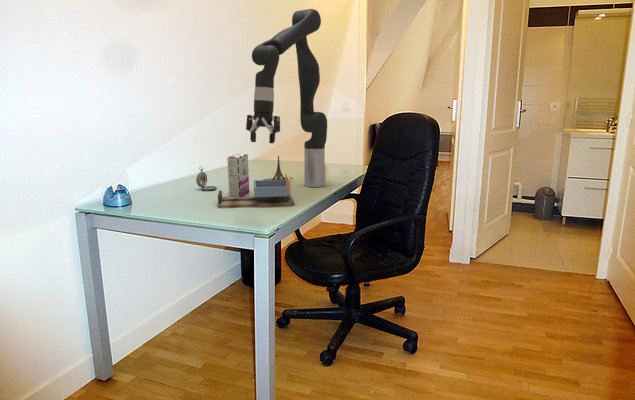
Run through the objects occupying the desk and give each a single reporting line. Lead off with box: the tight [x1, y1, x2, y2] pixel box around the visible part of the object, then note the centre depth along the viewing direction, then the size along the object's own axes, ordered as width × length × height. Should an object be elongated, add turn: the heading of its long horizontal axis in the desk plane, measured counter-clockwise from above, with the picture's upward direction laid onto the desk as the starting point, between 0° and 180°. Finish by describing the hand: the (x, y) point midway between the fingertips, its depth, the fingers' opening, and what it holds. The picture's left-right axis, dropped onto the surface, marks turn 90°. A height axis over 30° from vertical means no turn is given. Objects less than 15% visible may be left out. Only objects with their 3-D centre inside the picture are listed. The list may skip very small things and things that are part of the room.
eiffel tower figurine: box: [262, 154, 293, 180], centre depth 220 cm, size 15×10×13 cm
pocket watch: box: [195, 166, 218, 192], centre depth 197 cm, size 8×8×10 cm
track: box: [217, 190, 296, 209], centre depth 173 cm, size 28×14×4 cm, turn 99°
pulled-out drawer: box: [253, 173, 292, 202], centre depth 173 cm, size 13×15×8 cm
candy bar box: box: [227, 153, 250, 197], centre depth 186 cm, size 11×5×16 cm, turn 168°
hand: (262, 142), depth 175 cm, fingers open, 8 cm apart
